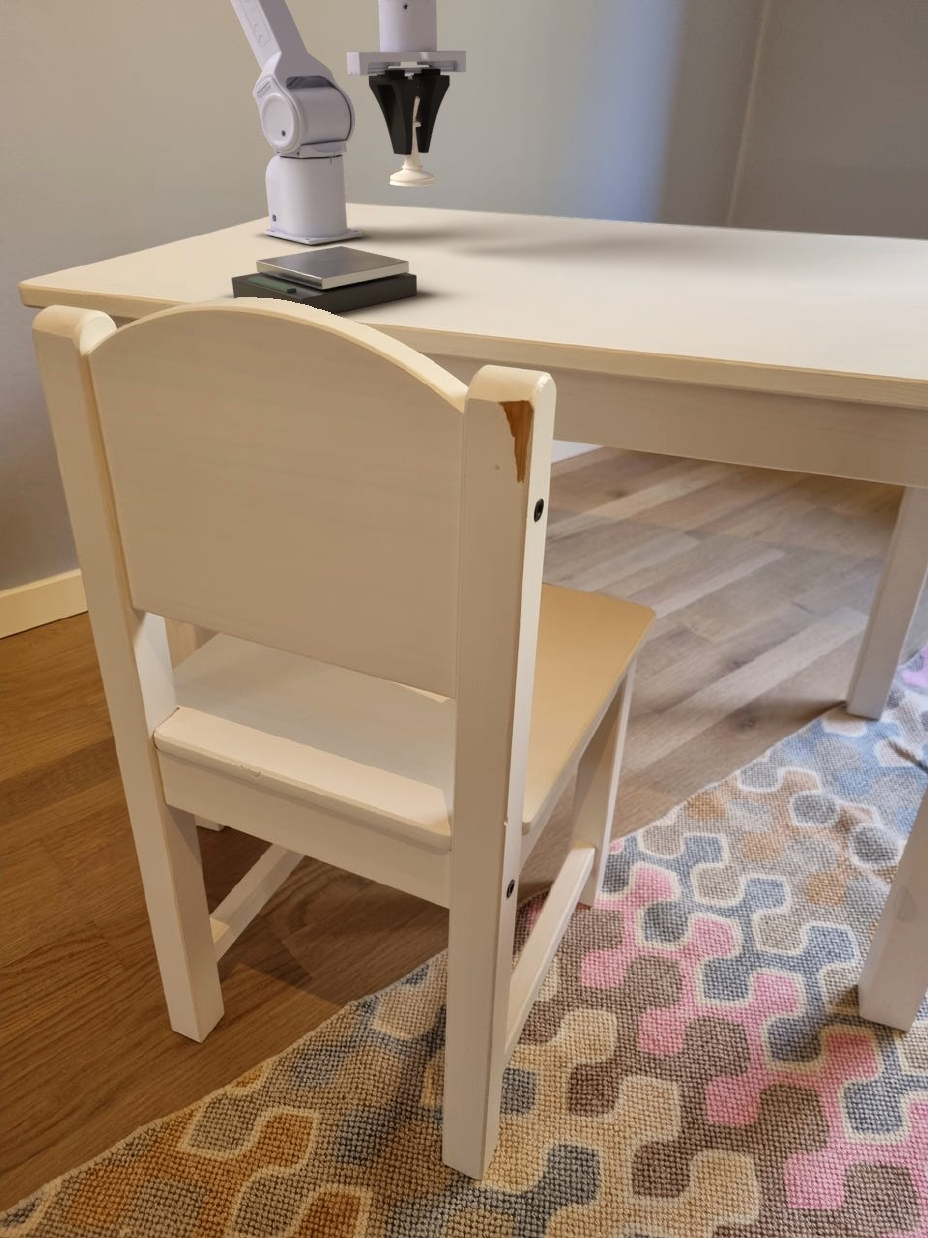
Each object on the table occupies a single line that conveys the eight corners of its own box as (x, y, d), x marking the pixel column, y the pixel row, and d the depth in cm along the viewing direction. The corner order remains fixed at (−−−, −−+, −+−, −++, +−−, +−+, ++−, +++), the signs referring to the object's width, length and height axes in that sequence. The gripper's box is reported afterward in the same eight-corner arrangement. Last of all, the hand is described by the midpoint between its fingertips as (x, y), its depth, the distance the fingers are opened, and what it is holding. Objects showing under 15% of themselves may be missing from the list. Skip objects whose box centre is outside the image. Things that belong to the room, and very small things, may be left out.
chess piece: (429, 187, 97) (427, 76, 91) (384, 186, 98) (379, 76, 92) (440, 180, 101) (438, 74, 96) (396, 179, 102) (392, 74, 96)
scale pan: (256, 271, 85) (255, 260, 85) (342, 256, 91) (341, 245, 91) (322, 290, 79) (321, 278, 79) (409, 272, 85) (409, 261, 85)
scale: (233, 297, 85) (230, 273, 84) (344, 275, 93) (342, 253, 92) (304, 320, 79) (302, 294, 77) (417, 294, 86) (416, 271, 85)
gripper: (377, -5, 84) (384, 161, 91) (487, -1, 92) (485, 150, 100) (329, -3, 88) (339, 156, 95) (438, 0, 97) (440, 145, 104)
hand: (411, 153), depth 98 cm, fingers closed on chess piece
